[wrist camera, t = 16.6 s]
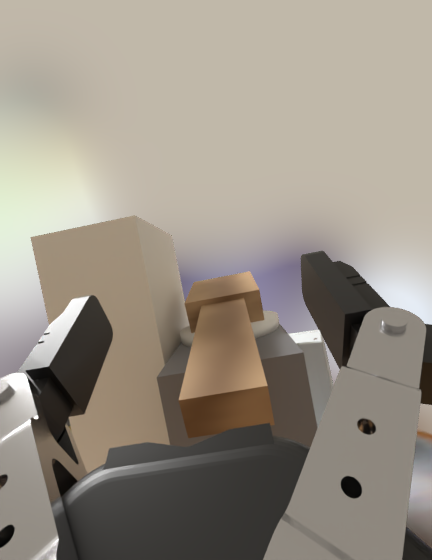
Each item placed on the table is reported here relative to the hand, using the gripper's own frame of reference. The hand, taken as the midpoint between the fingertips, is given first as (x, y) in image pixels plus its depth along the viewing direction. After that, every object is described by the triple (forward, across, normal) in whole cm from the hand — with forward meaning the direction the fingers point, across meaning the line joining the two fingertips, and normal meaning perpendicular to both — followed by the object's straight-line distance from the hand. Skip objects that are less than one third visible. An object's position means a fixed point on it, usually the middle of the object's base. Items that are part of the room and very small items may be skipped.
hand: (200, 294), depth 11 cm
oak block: (+9, 0, +11) cm, 14 cm away
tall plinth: (+4, +10, +32) cm, 33 cm away
